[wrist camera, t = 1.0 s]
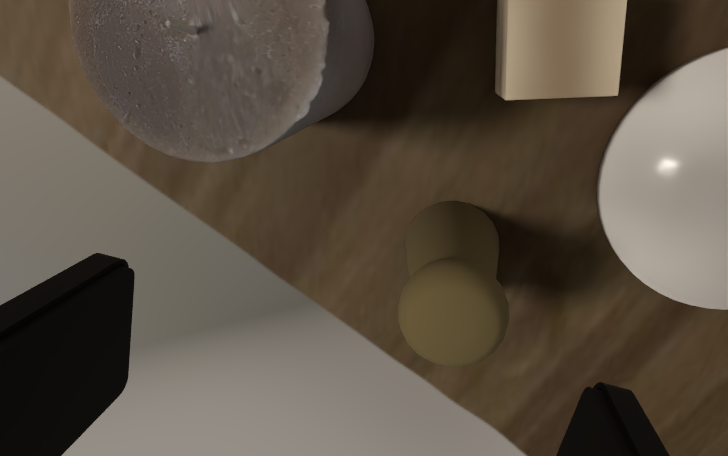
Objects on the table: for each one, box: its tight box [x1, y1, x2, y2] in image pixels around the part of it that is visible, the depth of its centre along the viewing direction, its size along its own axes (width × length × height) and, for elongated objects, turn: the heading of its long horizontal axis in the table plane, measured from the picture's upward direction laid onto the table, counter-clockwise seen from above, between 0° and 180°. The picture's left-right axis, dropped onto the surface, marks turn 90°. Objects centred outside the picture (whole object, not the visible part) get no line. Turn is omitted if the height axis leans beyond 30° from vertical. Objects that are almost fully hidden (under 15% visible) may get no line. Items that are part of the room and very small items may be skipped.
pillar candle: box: [69, 0, 375, 163], centre depth 24 cm, size 10×10×15 cm
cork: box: [398, 201, 509, 367], centre depth 28 cm, size 6×6×11 cm
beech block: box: [495, 0, 627, 100], centre depth 26 cm, size 5×5×6 cm
